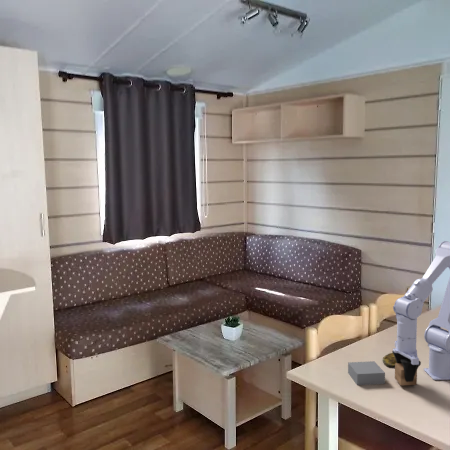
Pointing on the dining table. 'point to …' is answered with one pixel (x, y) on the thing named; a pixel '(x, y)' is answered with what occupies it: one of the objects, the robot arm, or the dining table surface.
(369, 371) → the grey block
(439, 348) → the robot arm
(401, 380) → the walnut cube
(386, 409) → the dining table surface
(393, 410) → the dining table surface
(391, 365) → the seal
